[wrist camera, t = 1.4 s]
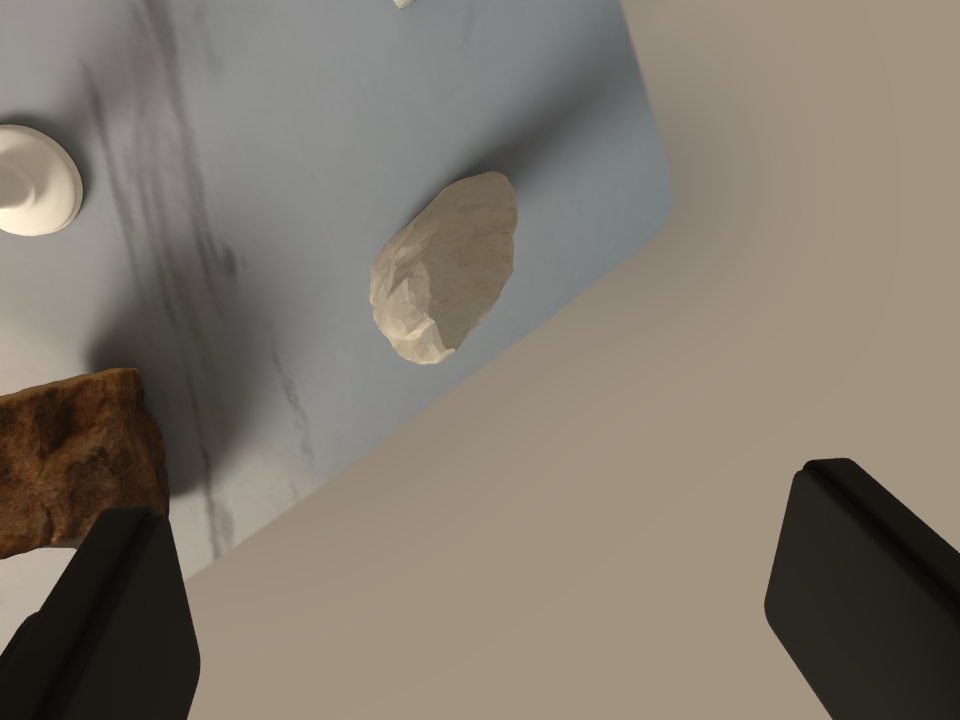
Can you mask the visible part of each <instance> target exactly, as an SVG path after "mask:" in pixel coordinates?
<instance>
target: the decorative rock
mask: <svg viewBox="0 0 960 720" xmlns="http://www.w3.org/2000/svg"><path fill="white" fill-rule="evenodd" d="M144 395H145V393H144V389H143V384H142V380H141V374H140V373H139V372H138V370H137V369H136V368H134V367H133V368H114V369H108V370H105V371H102V372H99V373H94V374H83V375H79V376H75V377H72V378H68V379H65V380H61V381H54V382H51V383H48V384H44V385H39V386H34V387H30V388H26V389H23V390H21V391H19V392H16V393H13V394H7V395H3V396H0V560H1V559H6V558H9V557H11V556H14V555H17V554H22V553H26V552H29V551H32V550H34V549H37V548H74V549H76V550H78V548H79V547H80V545H81V543H82V542H83V540H84V539H85V537H86V535H87V534H88V532H89V531H90V529H91V527H92V526H93V524H94V523H95V521H96V520H97V518H98V516H99V515H100V513H101V512H102V511H103V510H104V509H107V508H115V507H129V506H144V505H149V506H152V507H153V509H154V510H155V513H156V515H166V516H167V517H169V487H168V477H167V472H166V469H165V466H164V455H165V453H164V447H163V442H162V436H161V433H160V430H159V428H158V427H156V424H155V422H154V421H153V420H152V418H151V416H150V414H149V412H148V411H147V410H146V408H145V405H144Z"/></svg>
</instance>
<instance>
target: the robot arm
mask: <svg viewBox="0 0 960 720" xmlns="http://www.w3.org/2000/svg"><path fill="white" fill-rule="evenodd" d="M764 608H765V614H766V618H767V621H768V623H769V625H770V627H771V628H772V630H773V631H774V633H775V634H776V636H777V637H778V639H779V640H780V642H781V643H782V645H783V646H784V648H785V649H786V651H787V652H788V654H789V655H790V657H791V658H792V660H793V661H794V662H795V664H796V666H797V667H798V669H799V670H800V672H801V673H802V674H803V676H804V677H805V679H806V681H807V682H808V683H809V685H810V686H811V688H812V689H813V691H814V692H815V694H816V695H817V697H818V698H819V700H820V701H821V703H822V704H823V706H824V707H825V709H826V710H827V712H828V713H829V715H830V716H831V718H832V719H833V720H960V553H959V552H958V551H957V550H955V549H954V548H953V547H952V546H951V545H950V544H948V543H947V542H946V541H945V540H944V539H943V538H941V537H940V536H939V535H938V534H937V533H935V531H933V530H932V529H931V528H930V527H929V526H928V525H927V524H925V523H924V522H923V521H922V520H921V519H919V517H917V516H916V515H915V514H914V513H913V512H912V511H910V510H909V509H908V508H907V507H906V506H905V505H904V504H902V503H901V502H900V501H899V500H898V499H896V498H895V497H894V496H893V495H892V494H891V493H890V492H889V491H887V490H886V489H885V488H884V487H883V486H882V485H881V484H879V483H878V482H877V481H876V480H875V479H874V478H872V477H871V476H870V475H869V474H868V473H866V471H864V470H863V469H862V468H861V467H860V466H859V465H857V464H856V463H855V462H854V461H852V460H851V459H848V458H834V459H820V460H811V461H808V462H807V463H806V464H805V465H804V466H803V469H802V470H800V471H798V472H797V473H796V474H795V475H794V478H793V482H792V486H791V490H790V494H789V499H788V503H787V507H786V512H785V516H784V520H783V524H782V529H781V533H780V537H779V542H778V546H777V550H776V555H775V558H774V563H773V567H772V572H771V576H770V580H769V584H768V588H767V593H766V597H765V603H764ZM199 675H200V653H199V648H198V644H197V639H196V635H195V631H194V626H193V622H192V618H191V613H190V609H189V605H188V600H187V595H186V591H185V587H184V582H183V578H182V573H181V569H180V565H179V560H178V556H177V551H176V547H175V543H174V538H173V534H172V529H171V525H170V522H169V519H168V517H167V516H166V515H156V513H155V510H154V509H153V507H152V506H149V505H144V506H129V507H115V508H107V509H104V510H103V511H102V512H101V513H100V515H99V516H98V518H97V520H96V521H95V523H94V524H93V526H92V527H91V529H90V531H89V532H88V534H87V535H86V537H85V539H84V540H83V542H82V543H81V545H80V547H79V548H78V550H77V551H76V553H75V555H74V556H73V558H72V559H71V561H70V562H69V564H68V566H67V567H66V569H65V570H64V572H63V574H62V575H61V577H60V578H59V580H58V582H57V583H56V585H55V586H54V588H53V590H52V591H51V593H50V594H49V596H48V597H47V599H46V601H45V602H44V604H43V605H42V607H41V609H40V610H39V612H35V613H34V614H32V615H30V616H29V617H27V618H26V619H25V621H24V622H23V623H22V624H21V625H20V627H19V628H18V630H17V631H16V633H15V634H14V636H13V637H12V639H11V640H10V642H9V643H8V645H7V647H6V648H5V650H4V651H3V653H2V654H1V656H0V720H187V717H188V714H189V711H190V707H191V704H192V701H193V697H194V694H195V691H196V688H197V684H198V680H199Z"/></svg>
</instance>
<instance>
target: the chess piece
mask: <svg viewBox="0 0 960 720" xmlns="http://www.w3.org/2000/svg"><path fill="white" fill-rule="evenodd" d="M82 198H83V187H82V181H81V177H80V174H79V172H78V169H77V167H76V165H75V163H74V162H73V160H72V159H71V157H70V156H69V155H68V153H67V152H66V151H65V150H64V149H63V148H62V147H61V146H60V145H59V144H58V143H57V142H55V141H54V140H53V139H51V138H50V137H48V136H47V135H45V134H43V133H41V132H39V131H37V130H35V129H32V128H29V127H25V126H20V125H0V229H2V230H4V231H7V232H10V233H13V234H18V235H24V236H38V235H43V234H49V233H53V232H56V231H58V230H60V229H62V228H64V227H65V226H67V225H68V224H69V223H70V222H71V221H72V220H73V219H74V218H75V216H76V215H77V213H78V211H79V209H80V207H81V203H82Z"/></svg>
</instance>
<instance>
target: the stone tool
mask: <svg viewBox="0 0 960 720" xmlns="http://www.w3.org/2000/svg"><path fill="white" fill-rule="evenodd" d="M514 192H515V190H514V189H513V187H512V185H511V184H510V183H509V182H508V178H507V177H506V176H505V175H503V174H502V173H499V172H495V171H489V172H486V173H483V174H480V175H476V176H473V177H469V178H465V179H462V180H459V181H456V182H454V183H452V184H451V185H449V186H447V187H445V188H444V189H442V190H441V191H440V193H439V194H438V195H437V196H436V198H435V199H434V200H432V202H431V203H430V204H429V205H428V206H427V207H426V208H425V209H424V210H423V211H422V212H421V213H420V214H418V215H417V216H416V217H415V218H414V219H413V220H412V221H411V222H409V223H408V224H407V225H406V226H405V227H403V229H402V230H401V231H399V232H398V233H397V234H396V235H395V236H394V237H393V238H392V239H391V240H390V241H389V242H388V243H387V244H386V245H385V246H384V247H383V248H382V250H381V251H380V253H379V254H378V255H377V257H376V258H375V260H374V262H373V263H372V265H371V267H370V269H371V289H370V297H369V301H370V302H371V303H372V305H373V306H374V311H373V317H374V319H375V321H376V323H377V324H378V327H379V330H381V331H382V333H383V334H384V335H385V336H386V337H387V338H388V339H389V340H390V341H391V345H392V346H393V347H394V348H395V349H396V351H397V353H398V354H399V355H400V356H402V357H403V358H405V359H407V360H409V361H411V360H412V361H414V362H416V363H417V364H430V363H436V364H438V363H440V362H441V361H442V360H444V359H445V358H446V357H448V356H449V355H450V354H452V353H453V352H455V351H456V350H457V348H458V347H459V346H460V344H461V343H462V342H463V341H464V339H465V338H466V337H467V336H468V335H469V333H470V332H471V331H472V330H473V329H474V328H475V327H476V326H477V325H478V324H479V323H480V322H481V321H483V320H484V319H485V318H486V316H487V315H488V313H489V311H490V310H491V308H492V306H493V305H494V303H495V302H496V300H497V299H498V298H499V296H500V292H501V290H502V288H503V287H504V285H505V283H506V282H507V280H508V278H509V277H510V275H511V273H512V271H513V249H514V244H513V233H514V231H515V228H516V225H517V208H516V206H515V203H514V201H515V197H514Z"/></svg>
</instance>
